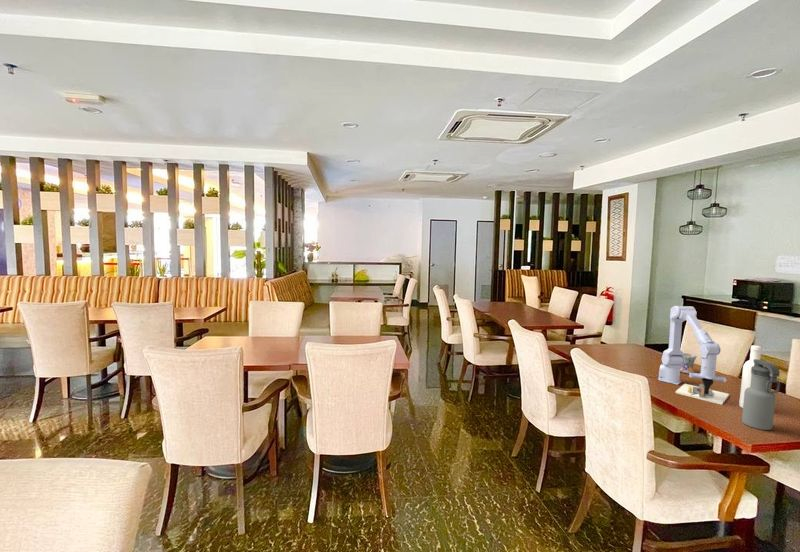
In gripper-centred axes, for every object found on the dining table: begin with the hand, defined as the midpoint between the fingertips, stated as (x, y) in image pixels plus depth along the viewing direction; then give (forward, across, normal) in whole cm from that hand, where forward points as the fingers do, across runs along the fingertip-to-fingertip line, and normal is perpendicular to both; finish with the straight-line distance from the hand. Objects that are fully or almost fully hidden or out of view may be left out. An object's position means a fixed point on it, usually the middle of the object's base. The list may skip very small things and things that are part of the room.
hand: (705, 393), depth 198 cm
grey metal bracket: (+2, 0, +5) cm, 5 cm away
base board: (+3, 0, +7) cm, 8 cm away
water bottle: (+3, +12, -26) cm, 29 cm away
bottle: (+3, +16, -3) cm, 17 cm away
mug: (+3, 0, +49) cm, 49 cm away
